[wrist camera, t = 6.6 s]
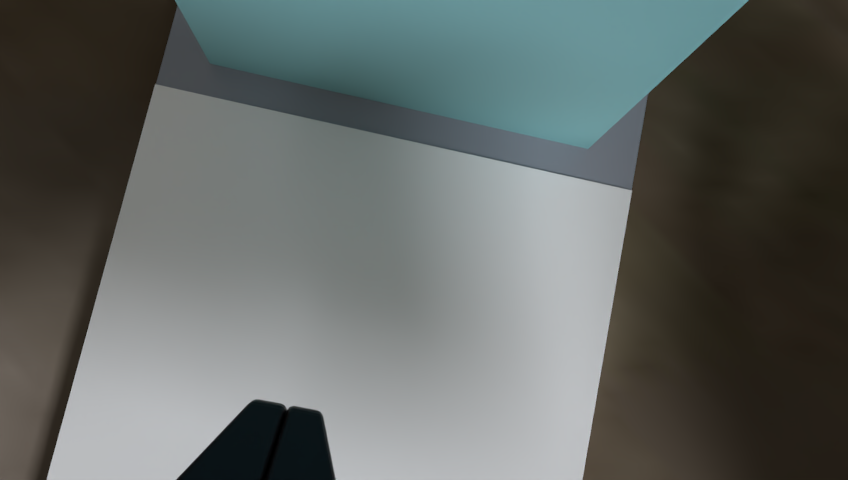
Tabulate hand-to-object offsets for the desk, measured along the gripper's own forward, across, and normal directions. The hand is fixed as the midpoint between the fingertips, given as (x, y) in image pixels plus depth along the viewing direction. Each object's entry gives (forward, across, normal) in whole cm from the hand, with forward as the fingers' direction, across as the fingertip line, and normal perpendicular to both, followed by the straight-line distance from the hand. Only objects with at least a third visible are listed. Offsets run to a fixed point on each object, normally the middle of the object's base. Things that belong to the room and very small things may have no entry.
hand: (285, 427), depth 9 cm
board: (+7, 0, +2) cm, 8 cm away
